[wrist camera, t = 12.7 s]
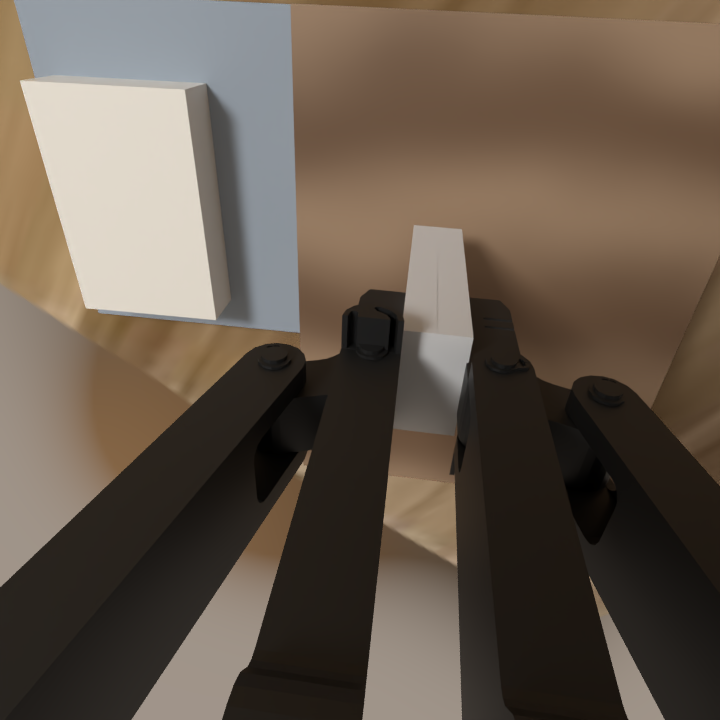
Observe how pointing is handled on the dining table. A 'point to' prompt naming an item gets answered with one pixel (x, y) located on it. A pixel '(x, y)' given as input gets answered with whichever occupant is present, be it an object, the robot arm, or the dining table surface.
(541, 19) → the brown wooden slab
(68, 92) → the white rectangular block
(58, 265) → the dining table surface
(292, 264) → the mat
